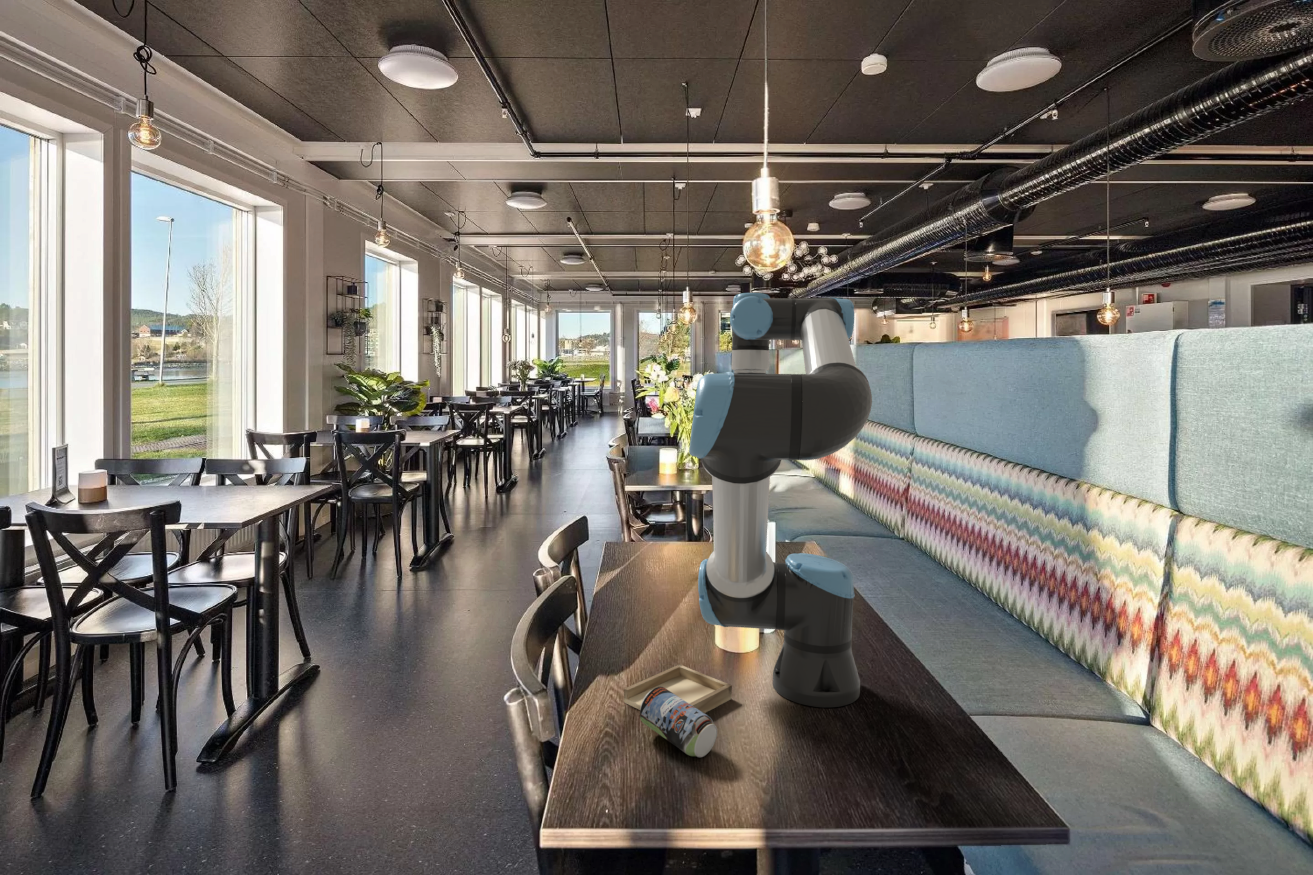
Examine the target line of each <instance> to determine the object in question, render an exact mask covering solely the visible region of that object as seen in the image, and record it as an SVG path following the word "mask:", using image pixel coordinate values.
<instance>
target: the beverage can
mask: <svg viewBox="0 0 1313 875" xmlns="http://www.w3.org/2000/svg"><path fill="white" fill-rule="evenodd" d="M639 718H640V721H641V722H642V723H643V725H646V726H647V727H648V728H650V729H651V731H654V733H657V734H658V735H659V736H660V737H662V738H664V739H665V740H666V741H667V742H669V743H670V744H672V745H673V746H675V747H676V748H677V749H679V750H680V751H682V753H684V754H686V755H687V756H690V757H697V758H703V757H705V756H706V755H707V754H708V753H709V752H710V751H711V750H712V748H713V747H714V745H715V743H716V740H717V737H718V728H717V726H716V724H715V723H714V721H713V719H712V718H711V716H709V715H708V714H706V713H703V712H701V711H700V710H698V709H697V708H695V707H694V706H692V705H690V704H689V703H687V702H686V701H684V700H683V699H681V698H680V697H678V696H676V695H675V694H673V693H672V692H670V691H669V690H667V689H666V688H664V687H657V688H655V689H653V690H651V691H650V692H649V693H648V694H647V695H646V696H645V697H644V699H643V701H642V703H641V707H640V710H639Z"/></svg>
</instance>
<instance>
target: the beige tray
mask: <svg viewBox="0 0 1313 875" xmlns="http://www.w3.org/2000/svg"><path fill="white" fill-rule="evenodd" d="M657 687H664V688H666V689H667V690H669V691H670V692H672V693H673V694H675V695H676V696H678V697H680V698H681V699H683V700H684V701H686V702H687V703H689V704H690V705H692V706H694V707H695V708H697V709H698V710H700V711H701V712H703V713H704V714H706V713H708V712H710V711H712V710H713V709H715V708H718V707H719V706H721V705H723V704H725V703H727V702H729V701H730V700H732V695H733V694H732V691H733V690H732V689H733V688H732V687H733V685H732V684H729V683H727V682H725V681H722V680H719V679H717V678H714V677H712V676H710V675H707V674H704V673H702V672H700V671H697V670H694V669H692V668H689V667H687V666H685V665H682V664H678V665H675V666H672V667H671V668H668V669H666V670H663V671H661V672H659V673H657V674H654V675H652V676H649V677H648V678H645V679H644V680H641V681H638V682H636V683H634V684H631V685H630V686H627V687H625V688H623V704H624V703H625V704H627V705H628V706H630V707H632V708H635V709H636V710H639V711H640V707H641V703H642V701H643V699H644V697H645V696H646V695H647V694H648V693H649V692H650V691H651V690H653V689H655V688H657Z"/></svg>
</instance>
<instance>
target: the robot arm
mask: <svg viewBox="0 0 1313 875" xmlns="http://www.w3.org/2000/svg"><path fill="white" fill-rule="evenodd" d="M732 300H733V302H732V308H731V310H730V314H729V325H730V327H731V339H732V340H731V366H730V367H731V370H732V371H726V372H724V373H723V372H722V373H719V372H717V373H706V374H705V375H703V376H701V377H700V378H699V380H698V381H697V385H696V392H695V400H694V408H693V414H692V415H693V417H692V423H691V424H692V425H691V433H690V441H689V450H688V451H689V455H690V456H692V457H695V458H697V459H700V460H701V464H702V467H703V468H704V470H705V471H706V472H707V473H708V474H709V475H710V476H711V483H712V484H711V485H712V516H713V517H712V518H713V519H712V520H713V545H714V546H713V547H714V550H713V551H712V552H711V554H710V555H709V557H708V558H705V559H703V560H702V561H701V563H700V565H699V568H698V577H697V578H698V580H697V583H698V584H697V586H698V587H697V589H698V596H699V597H698V598H699V599H698V604H699V608H700V613H701V616H702V618H703V620H704V621H705V622H706V623H707V624H709V625H711V626H713V625H715V626H721V627H723V628H745V629H747V628H748V629H763V630H764V629H765V630H777V631H778V630H779V631H783V644H782V647H781V648H780V652H779V654H778V656H777V660H776V662H775V664H774V667H773V670H772V687H773V689H774V691H775V692H776V693H777V694H779V695H780V696H781V697H783V698H785V699H786V700H789V701H791V702H794V703H796V704H800V705H804V706H809V707H815V708H837V707H844V706H848V705H850V704H853V703H855V701H857V700H858V699H859V697H860V693H861V678H860V676H859V674H858V668H857V665H856V662H855V659H854V654H853V650H852V637H853V636H852V635H853V634H852V633H853V609H854V608H853V607H854V598H855V591H854V590H855V589H854V574H853V572H852V570H851V569H850V568H849V567H848V566H847V565H845V564H844V563H842V562H840V561H838V560H836V559H833V558H830V557H826V556H822V555H818V554H813V553H812V554H811V553H807V552H806V553H805V552H799V553H795V552H794V553H790V554H788V555H787V557H786V558H785V562H775V561H774V562H773V559H772V557H771V556H770V554H769V553H768V551H767V545H768V544H767V543H768V542H767V541H768V525H769V523H768V520H769V505H770V504H769V503H770V502H769V501H770V484H771V482H770V480H771V477H772V476H773V475H774V474H775V473H776V472H777V471H778V469H779V468H780V466H781V464H782V460H783V461H813V460H818V459H822V458H825V457H828V456H830V455H833V454H835V453H836V452H838V451H840V450H842V449H843V448H845V447H846V446H848V445H849V444H850V442H852V441H853V440H854V439H855V438H856V437H857V436H859V434H860V433H861V431H862V430H863V428H864V427H865V425H866V424H867V421H868V420H869V417H870V414H871V410H872V407H873V406H872V404H873V396H872V390H871V386H870V383H869V381H868V378H867V376H866V375H865V373H864V371H862V370H861V369H860V368H858V367H857V365H856V361H855V358H854V354H853V351H852V347H851V344H850V339H851V338H852V336H853V332H854V327H855V305H854V303H853V301H852V300H851V299H848V298H836V297H828V298H827V297H825V298H824V297H823V298H818V297H817V298H815V297H814V298H771V296H769V294H766V293H763V292H762V293H761V292H743V293H739V294H735V295H734V297H733V299H732ZM772 340H773V341H775V340H778V341H785V340H787V341H801V347H802V354H803V362H804V371H805V373H800V374H799V373H798V374H795V373H767V371H769V370H770V341H772ZM733 371H734V372H733Z"/></svg>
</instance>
